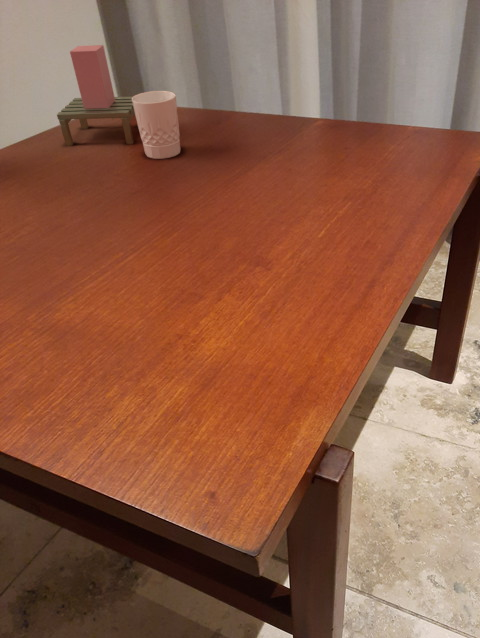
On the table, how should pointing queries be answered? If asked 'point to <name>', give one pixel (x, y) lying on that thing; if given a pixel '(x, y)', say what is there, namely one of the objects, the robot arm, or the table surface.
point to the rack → (97, 116)
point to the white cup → (158, 123)
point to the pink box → (93, 76)
